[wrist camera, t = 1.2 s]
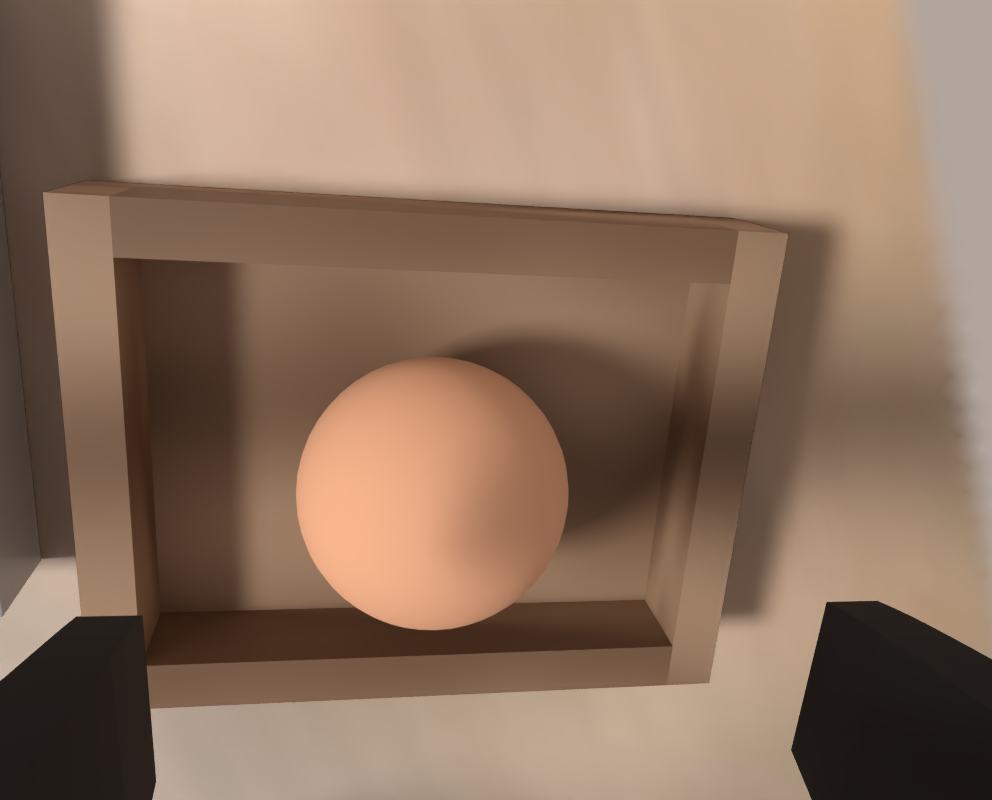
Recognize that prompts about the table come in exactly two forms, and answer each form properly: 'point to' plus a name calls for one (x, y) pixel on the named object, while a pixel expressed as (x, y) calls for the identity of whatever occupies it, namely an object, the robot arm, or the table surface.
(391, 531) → the brown egg
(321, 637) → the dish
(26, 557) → the tray
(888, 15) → the table surface
